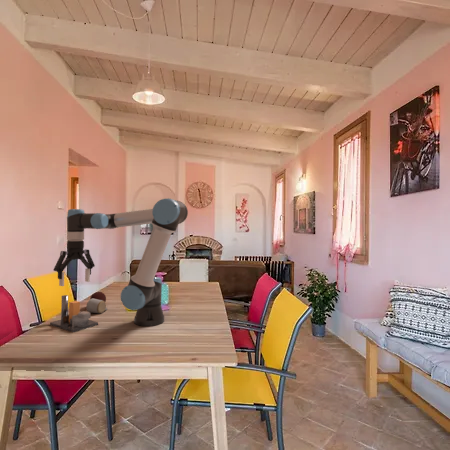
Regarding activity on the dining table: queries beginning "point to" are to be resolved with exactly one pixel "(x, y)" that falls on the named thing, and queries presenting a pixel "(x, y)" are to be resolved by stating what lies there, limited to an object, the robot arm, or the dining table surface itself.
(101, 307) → the ceramic mug
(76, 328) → the dark block with post
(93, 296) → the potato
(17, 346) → the dining table surface
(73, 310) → the orange rectangular block
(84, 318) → the grey rock
